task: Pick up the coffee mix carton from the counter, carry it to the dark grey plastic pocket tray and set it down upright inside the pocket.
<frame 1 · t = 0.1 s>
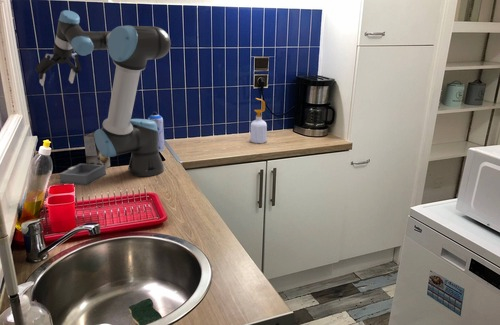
hand: (56, 82, 190), 36 cm above the countertop, tool tilted 35°, fingers open, 13 cm apart
coffee box: (99, 169, 184), on the countertop
aerosol can: (157, 150, 214), on the countertop
soap bottle: (258, 141, 232), on the countertop
pocket tray: (84, 178, 172), on the countertop
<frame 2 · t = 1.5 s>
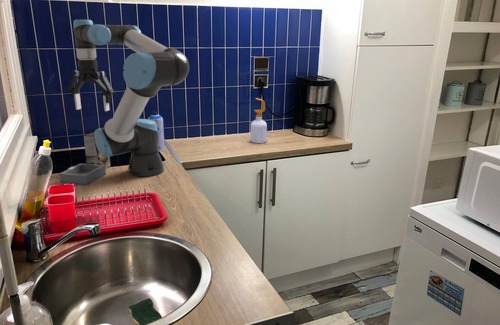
hand: (92, 110, 176), 27 cm above the countertop, tool pointing down, fingers open, 13 cm apart
nothing on the countertop moved.
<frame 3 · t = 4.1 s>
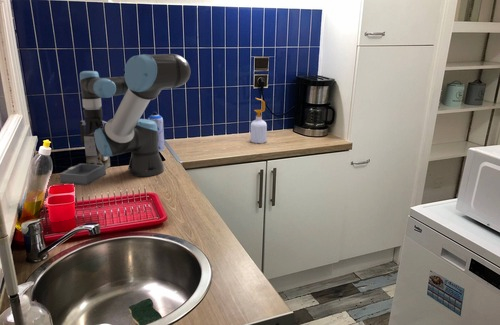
hand: (98, 159, 182), 4 cm above the countertop, tool pointing down, fingers closed on coffee box, 6 cm apart
coffee box: (99, 169, 184), on the countertop, touching gripper
everything else where it was.
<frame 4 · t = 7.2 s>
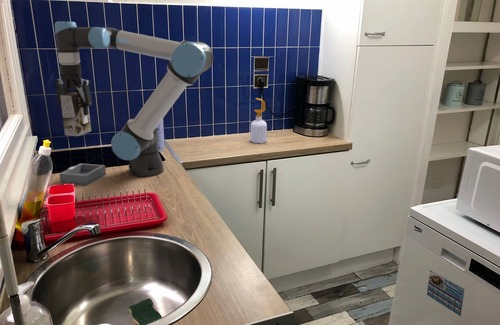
hand: (77, 122, 164), 24 cm above the countertop, tool pointing down, fingers closed on coffee box, 6 cm apart
coffee box: (78, 133, 166), point 19 cm above the countertop, touching gripper
everything else where it was.
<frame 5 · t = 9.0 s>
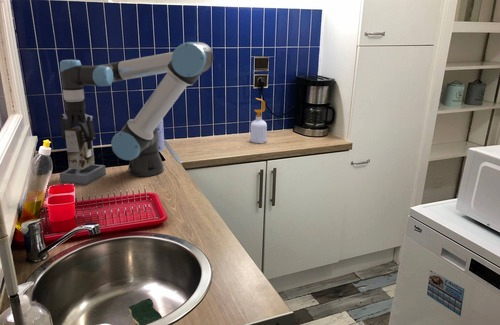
hand: (81, 155, 169), 10 cm above the countertop, tool pointing down, fingers closed on coffee box, 6 cm apart
coffee box: (82, 166, 170), point 5 cm above the countertop, touching gripper
everything else where it was.
when the fingers open (7 cm above the countertop, at t = 10.4 s): coffee box drops 2 cm, resting on pocket tray.
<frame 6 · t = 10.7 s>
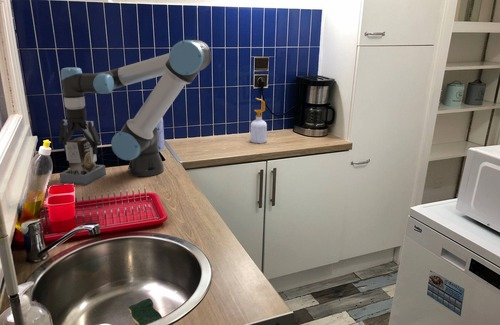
hand: (81, 160, 169), 8 cm above the countertop, tool pointing down, fingers open, 10 cm apart
coffee box: (84, 177, 171), point 1 cm above the countertop, touching pocket tray
everything else where it was.
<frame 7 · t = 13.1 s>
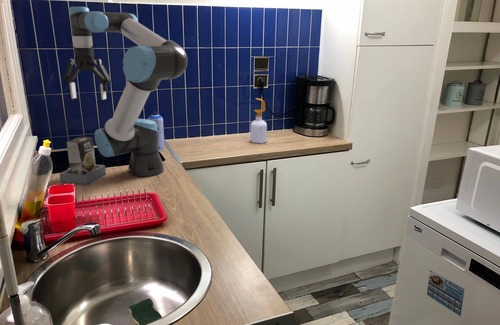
hand: (89, 98, 174), 31 cm above the countertop, tool pointing down, fingers open, 13 cm apart
nothing on the countertop moved.
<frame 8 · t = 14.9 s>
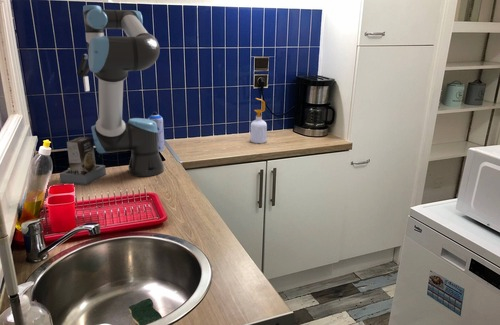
hand: (100, 91, 186), 33 cm above the countertop, tool pointing down, fingers open, 13 cm apart
nothing on the countertop moved.
at the end: coffee box 0.2 cm off-centre on the pocket tray, point 0.6 cm above the pocket tray's base; coffee box tilted 0°; the gripper is holding nothing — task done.
